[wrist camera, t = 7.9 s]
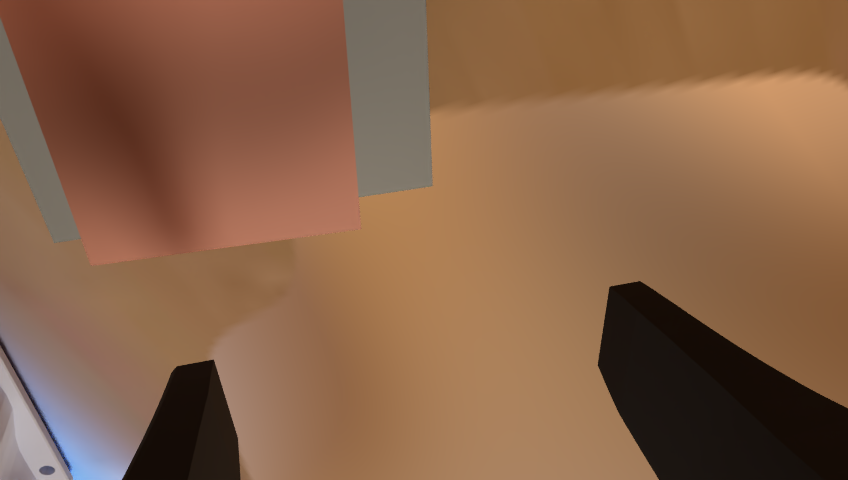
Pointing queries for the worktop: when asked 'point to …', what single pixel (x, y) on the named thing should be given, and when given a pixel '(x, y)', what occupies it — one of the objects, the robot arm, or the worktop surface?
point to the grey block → (370, 102)
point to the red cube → (192, 119)
